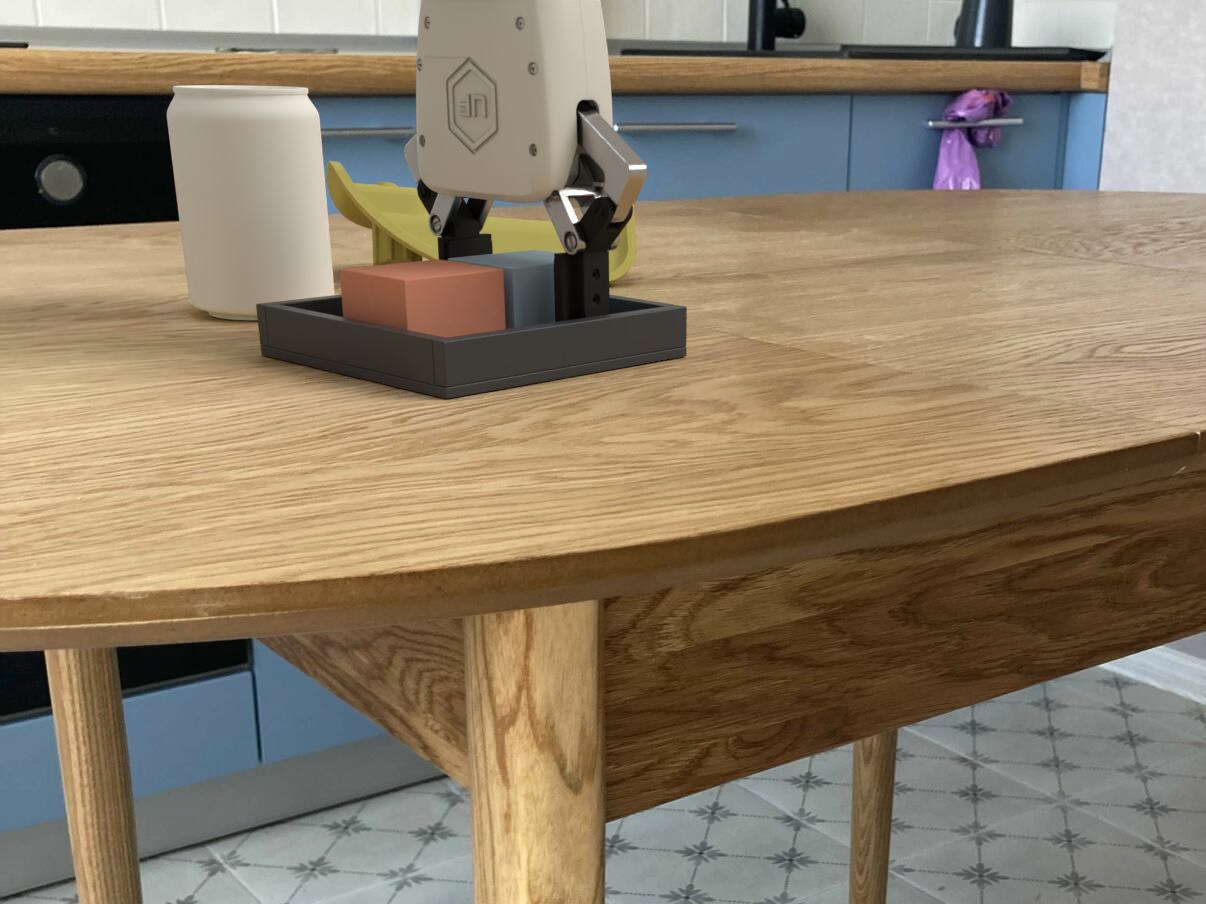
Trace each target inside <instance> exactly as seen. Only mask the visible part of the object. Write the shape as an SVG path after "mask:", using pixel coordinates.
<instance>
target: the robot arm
mask: <svg viewBox="0 0 1206 904" xmlns="http://www.w3.org/2000/svg"><path fill="white" fill-rule="evenodd" d="M606 35H607V34H606V26H605V20H604V14H603V7H602V0H421V1H420V9H419V16H418V26H417V43H416V69H415V71H416V72H415V78H416V79H415V108H416V109H415V114H416V115H415V122H416V123H415V124H416V125H415V126H416V133H414V135H413V136H412V137H411V138H410V139H409V140H408V142H407V143H406V144H405V146H404V150H403V154H404V155H403V156H404V158H405V161H406V163H407V165H408V169H409V170H410V173H411V175H412V177H413V180H414V181H415V184H417V187H416V188H417V193H418V196H419V198H420V200H421V202H422V204H423V205H424V207H425V208H426V210H427V212H428V213H429V215H430V216H429V228H430V231H431V233H432V234H433V235H434V236H441V237H437V238H438V256H439V260H446V261H448V259H449V258H456V257H466V256H477V255H487V254H493V247H492V238H491V234H487V233H483V234H480V232H481V230H482V229H483V226H484V224H485V221H486V219H487V217H489V214H490V211H491V208H492V206H493V204H494V202H503V203H504V202H506V203H514V204H515V203H516V204H537V203H543V205H544V208H545V210H546V212H547V214H548V216H549V218H550V221H552V223H553V226H554V228H555V230H556V232H557V235H558V237H559V239H560V241H561V244H562V246H563V248H564V250H565V253H555V254H554V301H555V322H560V321H567V320H574V319H581V318H588V317H595V316H602V315H609V314H610V304H609V294H610V284H609V251H614V250H615V249H616V248H617V247H618V245H619V234H620V233H621V231H622V230H623V229H624V227H625V226H626V224H627V223H628V222H629V220H630V219H631V217H632V214H633V206H632V204H634V205H635V204H636V202H637V199H638V198H639V195H640V193H641V191H642V189H643V186H644V184H645V182H646V180H647V177H648V171H649V169H648V165H647V164H646V162H645V161H644V160H643V158H641V157H640V155H638V153H637V152H636V151H635V150H634V149H633V148H632V147H631V146H630V145H629V144H628V143H627V142H626V140H624V139H623V137H622V136H621V135H620V134H619V133H618V132H617V131H616V130H615V129H614V121H613V119H614V118H613V97H612V83H611V82H612V81H611V70H610V61H609V60H610V59H609V50H608V49H609V48H608V42H607V36H606ZM465 199H467V201H466V200H465ZM575 208H579V209H580V211H581V214H582V217H581V218H580V219H579V218H578V216H577V213H576V211H575Z"/></svg>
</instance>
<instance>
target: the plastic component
mask: <svg viewBox="0 0 1206 904" xmlns="http://www.w3.org/2000/svg"><path fill="white" fill-rule="evenodd" d="M325 177H326V178H325V184H326V186H327V191H328V194H329V196H330V199H331V201H332V202H333V204H334V206H335V208H336V209H337V211H338V212H339V213H340V214H341V216H343V217H344V218H345V219H347V220H348V221H349V222H352V223H353V224H355V225H357V226H360V227H362V228H366V229H368V230H371V236H372V238H371V239H372V266H376V265H386V264H396V263H406V262H417V261H423V258H424V259H426V260H437V259H439V256H438V238H437V237H441V236H434V235H433V234H432V233H431V231H430V228H429V216H430V215H429V213H428V212H427V210H426V208H425V207H424V205H423V204H422V202H421V200H420V198H419V196H418V193H417V187H409V186H407V187H406V186H398V185H397V184H396V183H395V182H390V181H379V182H376V183H375V184H373V183H359V182H354V181H353V180H352V178H351V177H350V175H349V174H348V172H347V171H346V169H345V167H344V166H343V164H342V163H341V162H340V161H332V160H328V161H327V163H326V176H325ZM632 206H633V214H632V217H631V219H630V220H629V222H628V223H627V224H626V226H625V227H624V229H623V230H622V231H621V233H620V234H619V245H618V247H617V248H616V249H615V250H614V251H609V285H612V284H615V283H617V282H618V281H621V280H622V279H623V278H624V277H625V276H626V275H627V274H628V273H629V272H630V270H631V268H632V266H633V265H634V262H635V260H636V255H637V252H638V251H637V234H636V218H635V217H636V216H635V204H632ZM483 233H487V234H491V238H492V247H493V254H497V253H507V252H517V251H527V250H542V251H550V252H557V253H565V250H564V248H563V246H562V244H561V241H560V239H559V237H558V235H557V232H556V230H555V228H554V226H553V223H552V221H551V220H541V219H540V220H538V219H526V218H512V217H498V216H487V219H486V221H485V224H484V226H483V229H482V230H481V232H480V234H483Z"/></svg>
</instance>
